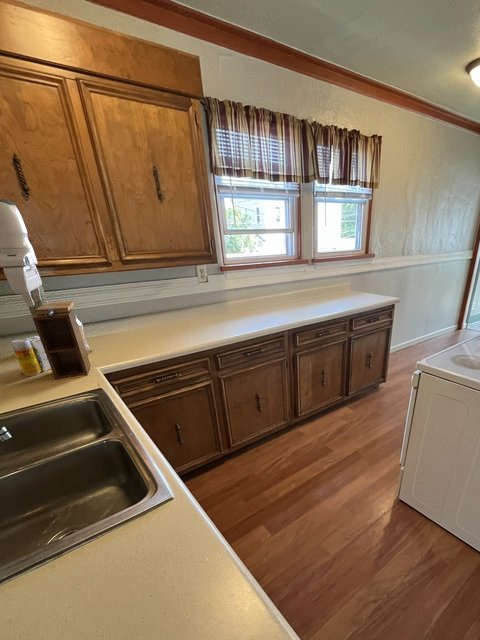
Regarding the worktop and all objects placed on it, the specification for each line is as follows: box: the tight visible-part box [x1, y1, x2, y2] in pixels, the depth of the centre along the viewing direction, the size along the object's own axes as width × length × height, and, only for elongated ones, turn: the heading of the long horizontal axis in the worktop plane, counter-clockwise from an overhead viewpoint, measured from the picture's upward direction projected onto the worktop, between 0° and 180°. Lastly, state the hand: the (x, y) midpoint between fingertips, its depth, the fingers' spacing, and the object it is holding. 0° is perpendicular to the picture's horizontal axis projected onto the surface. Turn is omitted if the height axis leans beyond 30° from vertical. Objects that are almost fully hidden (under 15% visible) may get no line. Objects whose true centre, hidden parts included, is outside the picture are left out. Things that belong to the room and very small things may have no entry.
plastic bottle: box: [74, 313, 91, 355], centre depth 161 cm, size 6×7×20 cm
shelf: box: [35, 300, 75, 318], centre depth 134 cm, size 25×11×2 cm, turn 25°
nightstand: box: [32, 308, 92, 380], centre depth 138 cm, size 12×12×26 cm
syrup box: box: [25, 335, 52, 372], centre depth 145 cm, size 6×6×14 cm
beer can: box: [11, 338, 42, 377], centre depth 139 cm, size 6×6×15 cm
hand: (35, 303), depth 108 cm, fingers open, 8 cm apart
